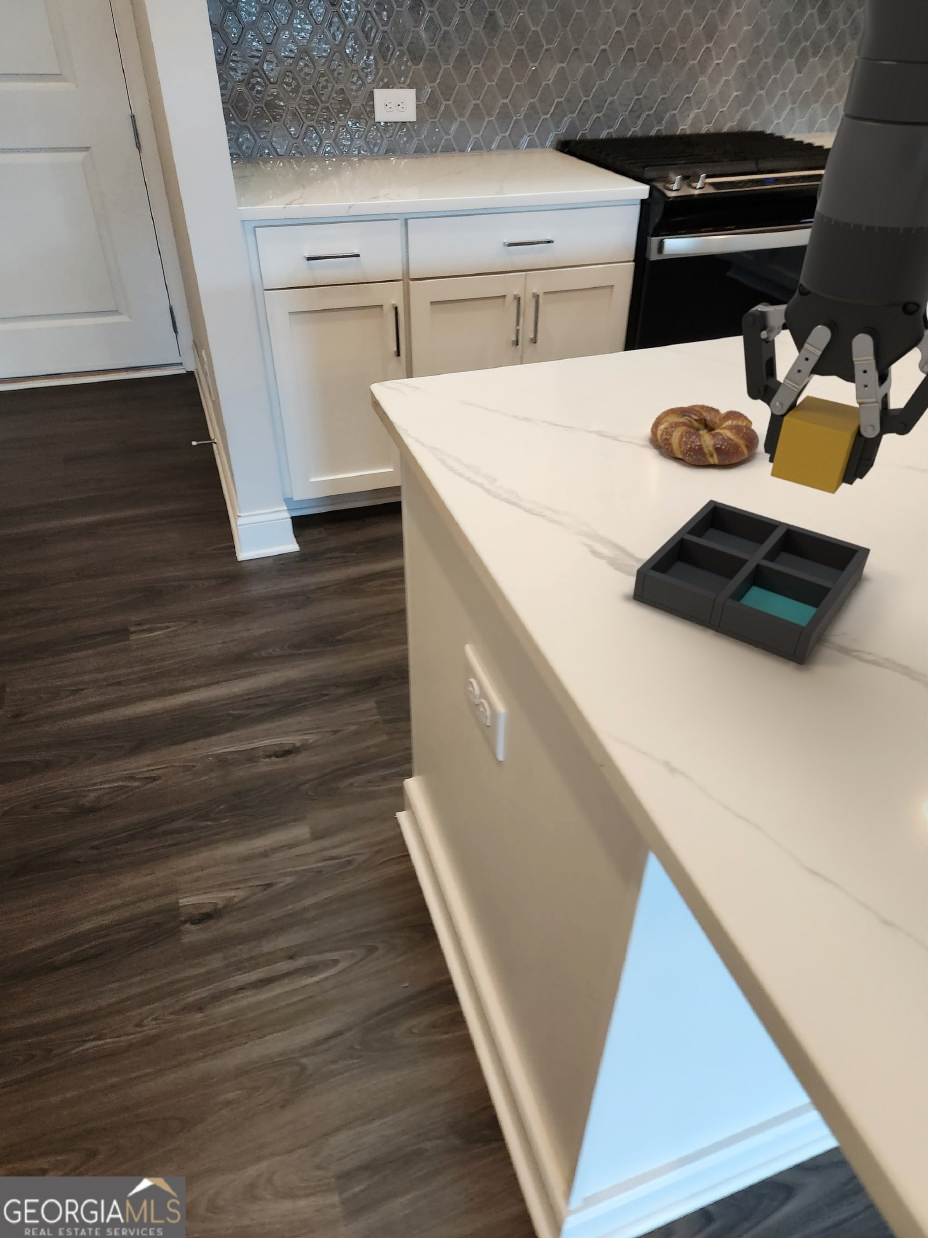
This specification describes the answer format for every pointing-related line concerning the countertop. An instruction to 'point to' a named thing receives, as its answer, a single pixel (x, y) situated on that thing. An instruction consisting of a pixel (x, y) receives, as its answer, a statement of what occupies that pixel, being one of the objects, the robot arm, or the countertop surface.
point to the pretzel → (705, 435)
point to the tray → (752, 578)
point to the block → (816, 443)
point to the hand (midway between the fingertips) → (813, 468)
